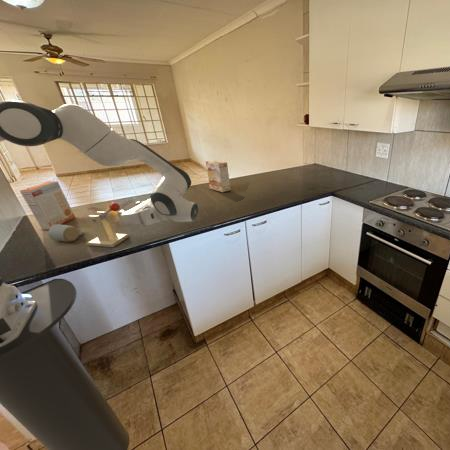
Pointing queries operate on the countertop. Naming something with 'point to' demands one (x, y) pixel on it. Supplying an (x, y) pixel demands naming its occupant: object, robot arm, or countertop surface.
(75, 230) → the ceramic mug
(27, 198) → the cracker box
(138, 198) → the countertop surface
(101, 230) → the bracket
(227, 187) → the coffeecake box
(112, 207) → the lever
